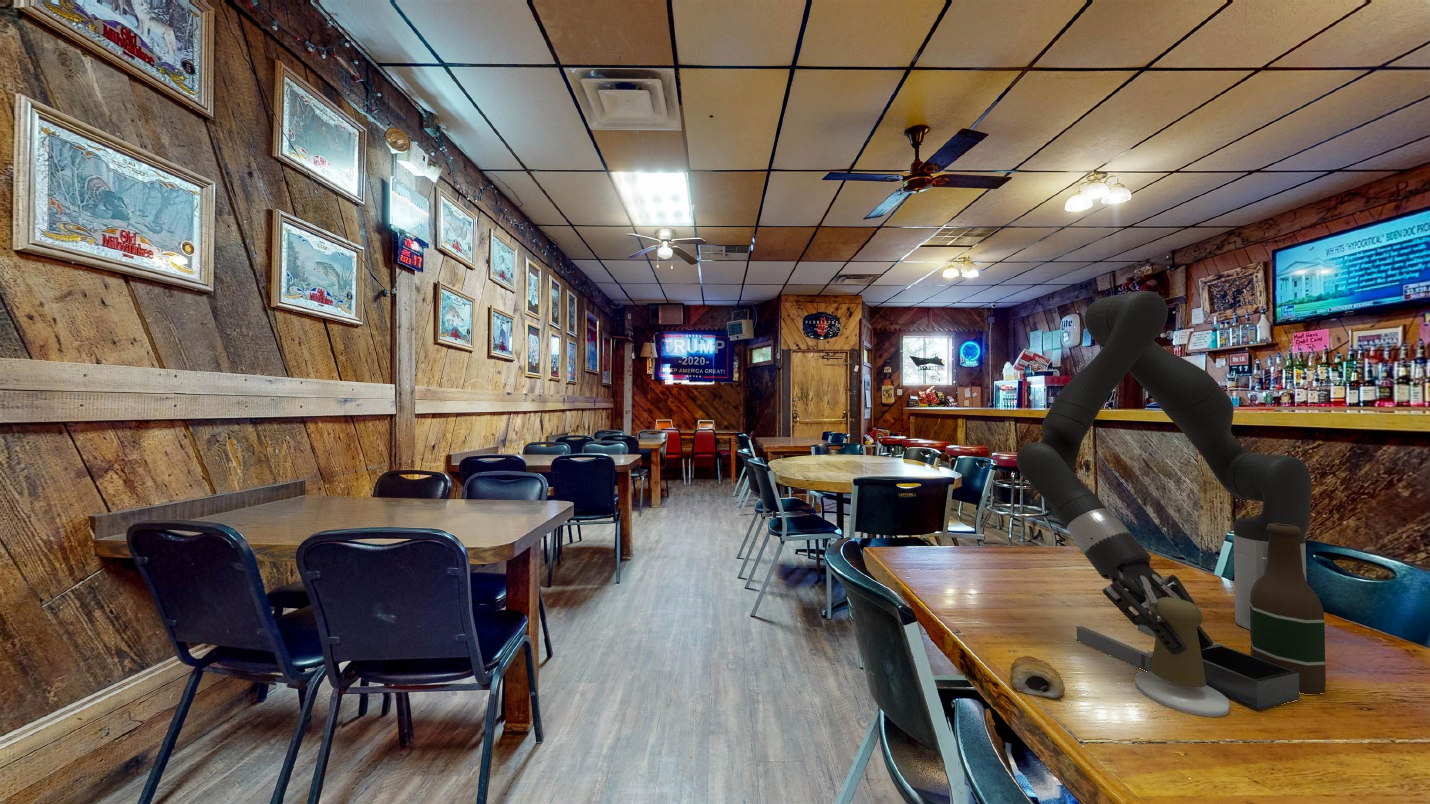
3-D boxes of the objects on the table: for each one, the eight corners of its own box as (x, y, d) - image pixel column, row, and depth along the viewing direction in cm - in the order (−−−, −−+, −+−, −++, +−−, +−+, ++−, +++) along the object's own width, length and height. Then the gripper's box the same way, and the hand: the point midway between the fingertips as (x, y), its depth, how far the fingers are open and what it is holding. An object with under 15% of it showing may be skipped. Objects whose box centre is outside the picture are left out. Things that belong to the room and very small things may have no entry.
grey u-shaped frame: (1142, 629, 95) (1142, 616, 95) (1219, 659, 84) (1219, 644, 84) (1076, 640, 91) (1076, 626, 91) (1149, 673, 79) (1149, 657, 79)
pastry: (1008, 664, 82) (1008, 641, 82) (1057, 675, 79) (1057, 650, 79) (1012, 693, 74) (1012, 666, 74) (1067, 705, 71) (1067, 678, 71)
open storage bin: (1219, 669, 81) (1219, 644, 81) (1299, 700, 72) (1299, 672, 72) (1179, 677, 78) (1179, 651, 78) (1257, 711, 69) (1257, 682, 69)
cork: (1218, 690, 70) (1218, 610, 70) (1167, 684, 71) (1167, 606, 71) (1186, 668, 76) (1186, 594, 76) (1140, 663, 77) (1140, 591, 77)
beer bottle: (1317, 702, 71) (1313, 533, 72) (1241, 676, 78) (1238, 522, 79) (1334, 688, 75) (1331, 527, 76) (1260, 665, 82) (1257, 517, 82)
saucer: (1165, 673, 79) (1165, 667, 79) (1247, 709, 70) (1247, 702, 70) (1118, 683, 76) (1118, 676, 76) (1198, 722, 67) (1197, 714, 67)
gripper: (1090, 533, 79) (1180, 646, 67) (1155, 528, 83) (1251, 633, 71) (1058, 557, 84) (1137, 666, 72) (1121, 551, 88) (1205, 653, 76)
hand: (1193, 649), depth 71 cm, fingers closed on cork, 4 cm apart
